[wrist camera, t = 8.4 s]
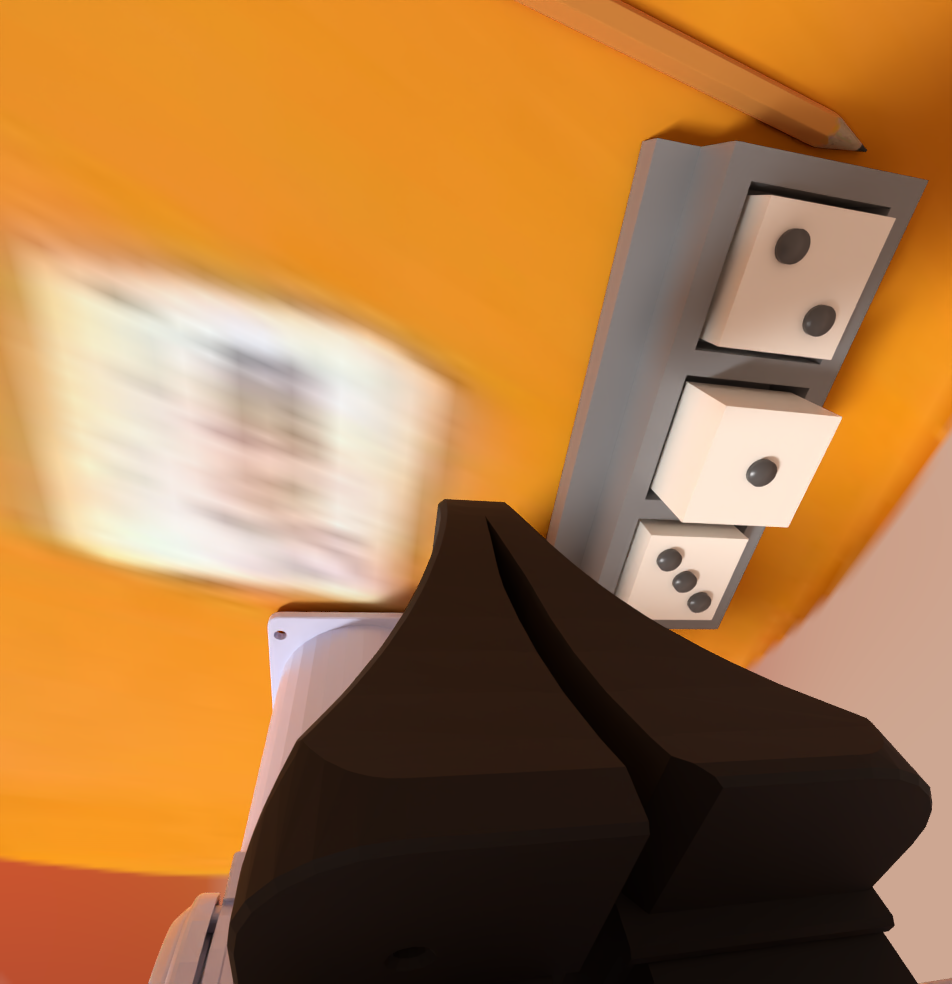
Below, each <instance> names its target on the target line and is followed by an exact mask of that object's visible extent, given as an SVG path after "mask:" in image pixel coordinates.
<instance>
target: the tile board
mask: <svg viewBox="0 0 952 984" xmlns="http://www.w3.org/2000/svg"><path fill="white" fill-rule="evenodd" d="M928 181H929V180H924V179H919V178H915V177H910V176H905V175H900V174H895V173H890V172H886V171H881V170H876V169H871V168H866V167H862V166H857V165H852V164H847V163H842V162H837V161H833V160H828V159H823V158H818V157H813V156H808V155H804V154H799V153H794V152H789V151H784V150H779V149H775V148H770V147H765V146H760V145H755V144H751V143H746V142H741V141H731V142H725V143H720V144H714V145H708V146H702V147H700V146H695V145H690V144H685V143H680V142H675V141H670V140H665V139H660V138H655V139H651V140H646V141H643V142H642V146H641V150H640V154H639V158H638V162H637V166H636V170H635V175H634V179H633V183H632V187H631V191H630V195H629V199H628V203H627V208H626V212H625V216H624V220H623V224H622V228H621V232H620V237H619V241H618V245H617V249H616V253H615V257H614V261H613V265H612V270H611V274H610V278H609V282H608V286H607V290H606V294H605V298H604V303H603V307H602V311H601V315H600V319H599V323H598V327H597V331H596V336H595V340H594V344H593V348H592V352H591V356H590V360H589V365H588V369H587V373H586V377H585V381H584V385H583V389H582V393H581V398H580V402H579V406H578V410H577V414H576V418H575V422H574V426H573V431H572V435H571V439H570V443H569V447H568V451H567V455H566V460H565V464H564V468H563V472H562V476H561V480H560V484H559V488H558V493H557V497H556V501H555V505H554V509H553V513H552V517H551V521H550V526H549V530H548V534H547V538H546V540H547V541H548V542H549V543H550V544H551V545H552V546H554V547H555V548H556V549H557V550H558V551H559V552H560V553H562V554H563V555H564V556H565V557H566V558H567V559H569V560H570V561H571V562H572V563H573V564H575V565H576V566H577V567H578V568H579V569H581V570H582V571H583V572H585V573H586V574H587V575H588V576H590V577H591V578H592V579H594V580H595V581H596V582H597V583H599V584H600V585H601V586H603V587H604V588H605V589H607V590H608V591H610V592H611V593H612V594H614V591H615V588H616V585H617V582H618V579H619V576H620V573H621V570H622V567H623V564H624V561H625V558H626V555H627V552H628V549H629V546H630V543H631V540H632V537H633V534H634V531H635V528H636V525H637V522H638V519H639V518H640V519H661V520H679V518H678V517H677V516H676V515H675V514H674V513H673V512H672V511H671V510H670V509H669V508H668V506H667V505H666V504H665V503H664V502H663V501H662V500H661V499H660V498H659V497H658V495H657V494H656V493H655V492H654V491H653V490H652V489H651V488H650V487H651V484H652V481H653V478H654V475H655V472H656V469H657V466H658V463H659V460H660V457H661V454H662V451H663V448H664V445H665V442H666V439H667V436H668V433H669V430H670V427H671V424H672V421H673V418H674V415H675V412H676V409H677V406H678V403H679V400H680V397H681V394H682V391H683V388H684V385H685V382H686V381H688V382H698V383H707V384H717V385H726V386H736V387H745V388H755V389H765V390H774V391H784V392H791V393H793V394H795V395H797V396H799V397H801V398H804V399H806V400H808V401H810V402H812V403H814V404H816V405H818V406H820V407H822V406H823V404H824V402H825V400H826V397H827V395H828V393H829V391H830V389H831V387H832V385H833V383H834V380H835V378H836V376H837V374H838V372H839V370H840V368H841V366H842V363H843V361H844V359H845V357H846V355H847V353H848V351H849V349H850V346H851V344H852V342H853V340H854V338H855V336H856V334H857V332H858V329H859V327H860V325H861V323H862V321H863V319H864V317H865V315H866V312H867V310H868V308H869V306H870V304H871V302H872V300H873V298H874V295H875V293H876V291H877V289H878V287H879V285H880V283H881V281H882V278H883V276H884V274H885V272H886V270H887V268H888V266H889V264H890V261H891V259H892V257H893V255H894V253H895V251H896V249H897V247H898V244H899V242H900V240H901V238H902V236H903V234H904V232H905V230H906V227H907V225H908V223H909V221H910V219H911V217H912V215H913V213H914V210H915V208H916V206H917V204H918V202H919V200H920V198H921V196H922V193H923V191H924V189H925V187H926V185H927V183H928ZM747 195H775V196H780V197H785V198H791V199H796V200H801V201H807V202H812V203H817V204H823V205H828V206H833V207H839V208H844V209H849V210H855V211H860V212H865V213H871V214H876V215H881V216H887V217H892V218H896V220H895V222H894V224H893V226H892V228H891V230H890V233H889V235H888V237H887V239H886V241H885V243H884V246H883V248H882V250H881V252H880V254H879V257H878V259H877V261H876V263H875V265H874V267H873V270H872V272H871V274H870V276H869V278H868V281H867V283H866V285H865V287H864V289H863V291H862V294H861V296H860V298H859V300H858V302H857V304H856V307H855V309H854V311H853V313H852V315H851V318H850V320H849V322H848V324H847V326H846V328H845V331H844V333H843V335H842V337H841V339H840V342H839V344H838V346H837V348H836V350H835V352H834V355H833V357H832V359H831V360H827V359H819V358H810V357H802V356H794V355H785V354H777V353H769V352H761V351H752V350H744V349H736V348H727V347H719V346H716V345H714V344H712V343H709V342H707V341H705V340H703V339H700V338H699V336H700V333H701V330H702V327H703V324H704V321H705V318H706V315H707V312H708V309H709V306H710V303H711V300H712V297H713V294H714V292H715V289H716V286H717V283H718V280H719V277H720V274H721V271H722V268H723V265H724V262H725V259H726V256H727V253H728V250H729V247H730V244H731V241H732V238H733V235H734V232H735V229H736V226H737V223H738V220H739V217H740V214H741V211H742V208H743V205H744V202H745V199H746V196H747ZM734 526H735V527H736V528H737V529H738V530H739V531H740V532H742V533H743V534H744V535H745V536H746V537H747V538H748V539H749V540H748V542H747V544H746V546H745V548H744V551H743V553H742V555H741V557H740V559H739V561H738V564H737V566H736V568H735V570H734V572H733V575H732V577H731V579H730V581H729V583H728V585H727V588H726V590H725V592H724V594H723V596H722V598H721V601H720V603H719V605H718V607H717V609H716V612H715V614H714V616H713V618H712V620H654V621H655V622H657V623H659V624H660V625H662V626H664V627H665V628H667V629H718V627H719V625H720V623H721V620H722V618H723V616H724V614H725V612H726V610H727V608H728V606H729V603H730V601H731V599H732V597H733V595H734V593H735V591H736V589H737V586H738V584H739V582H740V580H741V578H742V576H743V574H744V572H745V569H746V567H747V565H748V563H749V561H750V559H751V557H752V555H753V552H754V550H755V548H756V546H757V544H758V542H759V540H760V538H761V535H762V533H763V531H764V529H765V527H766V526H748V525H734Z"/></svg>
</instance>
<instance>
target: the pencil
mask: <svg viewBox="0 0 952 984" xmlns="http://www.w3.org/2000/svg"><path fill="white" fill-rule="evenodd" d="M515 1H517V2H519V3H521V4H523V5H525V6H527V7H529V8H531V9H533V10H535V11H537V12H539V13H541V14H543V15H545V16H547V17H549V18H551V19H553V20H555V21H558V22H560V23H562V24H564V25H566V26H568V27H570V28H572V29H574V30H576V31H578V32H580V33H582V34H584V35H586V36H588V37H590V38H592V39H594V40H596V41H598V42H600V43H602V44H605V45H607V46H609V47H611V48H613V49H615V50H617V51H619V52H621V53H623V54H625V55H627V56H629V57H631V58H633V59H635V60H637V61H639V62H641V63H643V64H645V65H647V66H649V67H652V68H654V69H656V70H658V71H660V72H662V73H664V74H666V75H668V76H670V77H672V78H674V79H676V80H678V81H680V82H682V83H684V84H686V85H688V86H690V87H692V88H694V89H696V90H699V91H701V92H703V93H705V94H707V95H709V96H711V97H713V98H715V99H717V100H719V101H721V102H723V103H725V104H727V105H729V106H731V107H733V108H735V109H737V110H739V111H741V112H743V113H745V114H748V115H750V116H752V117H754V118H756V119H758V120H760V121H762V122H764V123H766V124H768V125H770V126H772V127H774V128H776V129H778V130H780V131H782V132H784V133H786V134H788V135H790V136H792V137H795V138H797V139H799V140H801V141H803V142H805V143H807V144H809V145H811V146H813V147H820V148H830V149H841V150H852V151H862V152H866V151H867V149H866V148H865V147H864V146H863V144H862V143H861V142H860V141H859V139H858V138H857V137H856V136H855V134H854V133H853V132H852V131H851V129H850V128H849V127H848V125H847V124H846V123H845V122H844V120H843V119H842V118H841V117H840V116H839V115H838V114H837V113H835V112H834V111H832V110H830V109H828V108H826V107H824V106H822V105H821V104H819V103H817V102H815V101H813V100H811V99H809V98H807V97H805V96H803V95H801V94H799V93H798V92H796V91H794V90H792V89H790V88H788V87H786V86H784V85H782V84H780V83H778V82H776V81H774V80H773V79H771V78H769V77H767V76H765V75H763V74H761V73H759V72H757V71H755V70H753V69H751V68H749V67H748V66H746V65H744V64H742V63H740V62H738V61H736V60H734V59H732V58H730V57H728V56H726V55H724V54H723V53H721V52H719V51H717V50H715V49H713V48H711V47H709V46H707V45H705V44H703V43H701V42H699V41H698V40H696V39H694V38H692V37H690V36H688V35H686V34H684V33H682V32H680V31H678V30H676V29H674V28H673V27H671V26H669V25H667V24H665V23H663V22H661V21H659V20H657V19H655V18H653V17H651V16H650V15H648V14H646V13H644V12H642V11H640V10H638V9H636V8H634V7H632V6H630V5H628V4H626V3H625V2H623V1H621V0H515Z"/></svg>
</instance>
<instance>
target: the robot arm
mask: <svg viewBox="0 0 952 984" xmlns="http://www.w3.org/2000/svg"><path fill="white" fill-rule="evenodd" d="M277 631H284V632H285V633H279V632H277ZM268 640H269V656H270V672H271V689H272V705H273V713H272V717H271V721H270V726H269V730H268V734H267V739H266V743H265V748H264V752H263V756H262V761H261V765H260V769H259V774H258V778H257V783H256V787H255V791H254V796H253V800H252V804H251V809H250V813H249V817H248V822H247V826H246V831H245V835H244V839H243V844H242V848H241V851H239V852H236V853H235V854H234V857H233V861H232V865H231V869H230V873H229V878H228V882H227V886H226V890H225V895H224V899H223V904H222V905H220V892H215V893H202V894H200V895H199V896H197V897H196V899H195V900H194V902H193V904H192V906H190V907H189V908H187V909H186V910H185V911H184V912H183V913H182V914H181V915H180V916H179V917H178V918H177V919H175V921H174V922H173V923H172V925H171V926H170V928H169V930H168V932H167V935H166V937H165V939H164V942H163V944H162V947H161V949H160V952H159V955H158V957H157V960H156V963H155V966H154V968H153V971H152V974H151V977H150V980H149V983H148V984H952V978H950V979H944V980H937V981H931V982H924V983H917V982H916V980H915V979H914V977H913V976H912V974H911V973H910V971H909V970H908V968H907V967H906V965H905V964H904V962H903V961H902V960H901V958H900V957H899V955H898V953H897V952H896V951H895V949H894V948H893V946H892V945H891V943H890V942H889V940H888V939H887V937H886V936H885V935H884V933H883V932H886V931H889V930H890V929H891V928H893V927H894V920H893V916H892V914H891V913H890V912H889V910H888V908H887V907H886V906H885V904H884V903H883V901H882V900H881V899H880V897H879V896H878V894H877V893H876V891H875V890H874V889H873V885H874V884H875V883H876V882H877V881H878V880H879V879H880V878H881V877H882V876H883V875H884V874H885V873H886V872H887V871H888V870H889V868H890V867H891V866H892V865H893V864H894V863H895V862H896V861H897V860H898V859H899V858H900V857H901V856H902V854H903V853H905V851H906V850H907V849H908V848H909V847H910V846H911V845H912V844H913V843H914V841H915V840H916V839H917V837H918V836H919V835H920V834H921V832H922V831H923V830H924V828H925V827H926V825H927V822H928V819H929V817H930V813H931V811H932V799H931V791H930V787H929V786H928V784H927V783H926V782H925V781H924V780H923V779H922V778H921V777H920V776H919V775H918V773H917V772H916V771H915V770H914V769H913V768H912V767H911V766H910V764H909V763H908V762H907V761H906V760H905V759H904V758H903V757H902V756H901V755H900V753H899V752H898V751H897V750H896V749H895V748H894V747H893V746H892V744H891V743H890V742H889V741H888V740H887V739H886V738H885V737H884V736H883V735H882V733H881V732H880V731H879V730H878V729H877V728H876V727H875V726H874V725H873V724H872V723H871V722H870V721H869V720H868V719H867V718H865V717H862V716H860V715H857V714H854V713H852V712H849V711H847V710H844V709H842V708H839V707H836V706H834V705H831V704H828V703H826V702H824V701H821V700H818V699H816V698H813V697H811V696H808V695H806V694H803V693H800V692H798V691H795V690H792V689H790V688H788V687H785V686H783V685H780V684H778V683H776V682H773V681H771V680H769V679H767V678H765V677H762V676H760V675H758V674H756V673H754V672H751V671H749V670H747V669H745V668H743V667H740V666H738V665H736V664H734V663H732V662H730V661H728V660H726V659H724V658H722V657H720V656H718V655H716V654H714V653H712V652H710V651H708V650H706V649H704V648H702V647H700V646H698V645H696V644H694V643H693V642H691V641H689V640H687V639H685V638H683V637H682V636H680V635H678V634H676V633H674V632H673V631H671V630H669V629H667V628H665V627H664V626H662V625H660V624H659V623H657V622H655V621H654V620H652V619H650V618H649V617H647V616H646V615H644V614H642V613H641V612H639V611H638V610H636V609H635V608H633V607H632V606H630V605H629V604H627V603H626V602H624V601H623V600H621V599H620V598H618V597H617V596H615V595H614V594H612V593H611V592H610V591H608V590H607V589H605V588H604V587H603V586H601V585H600V584H599V583H597V582H596V581H595V580H594V579H592V578H591V577H590V576H588V575H587V574H586V573H585V572H583V571H582V570H581V569H579V568H578V567H577V566H576V565H575V564H573V563H572V562H571V561H570V560H569V559H567V558H566V557H565V556H564V555H563V554H562V553H560V552H559V551H558V550H557V549H556V548H555V547H554V546H552V545H551V544H550V543H549V542H548V541H547V540H546V539H545V538H544V537H542V536H541V535H540V534H539V533H538V532H537V531H536V530H535V529H534V528H533V527H532V526H531V525H529V524H528V523H527V522H526V521H525V520H524V519H523V518H522V517H521V516H520V515H519V514H518V513H517V512H515V511H514V510H513V509H512V508H511V507H510V506H509V505H507V504H506V503H505V502H489V501H470V500H451V499H444V500H443V501H442V502H440V503H439V504H438V511H437V519H436V527H435V535H434V543H433V552H432V555H431V558H430V560H429V562H428V565H427V567H426V569H425V572H424V574H423V576H422V579H421V581H420V583H419V585H418V587H417V589H416V591H415V593H414V595H413V597H412V599H411V601H410V602H409V604H408V606H407V608H406V609H405V611H404V613H368V612H276V613H274V614H272V615H271V616H270V618H269V622H268Z"/></svg>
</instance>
